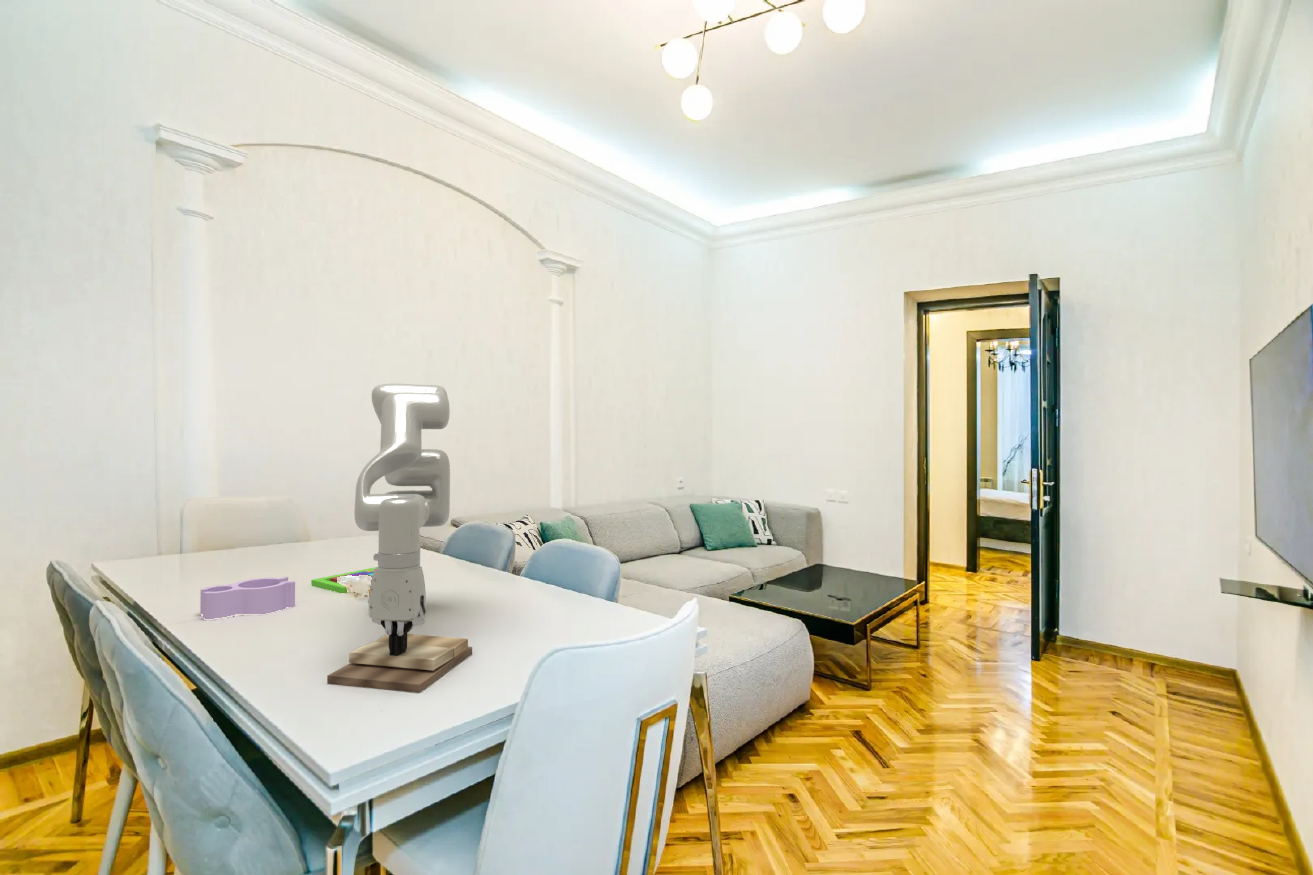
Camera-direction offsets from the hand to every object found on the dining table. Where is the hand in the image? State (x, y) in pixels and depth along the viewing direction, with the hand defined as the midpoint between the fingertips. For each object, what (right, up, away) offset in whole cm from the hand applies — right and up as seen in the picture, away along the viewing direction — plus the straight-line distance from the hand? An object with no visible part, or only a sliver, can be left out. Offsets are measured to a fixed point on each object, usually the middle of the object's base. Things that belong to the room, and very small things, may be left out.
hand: (397, 653), depth 129 cm
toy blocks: (-35, -3, +70) cm, 78 cm away
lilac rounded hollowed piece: (-54, -3, +40) cm, 68 cm away
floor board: (0, -4, +3) cm, 5 cm away
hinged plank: (0, -2, +2) cm, 3 cm away
